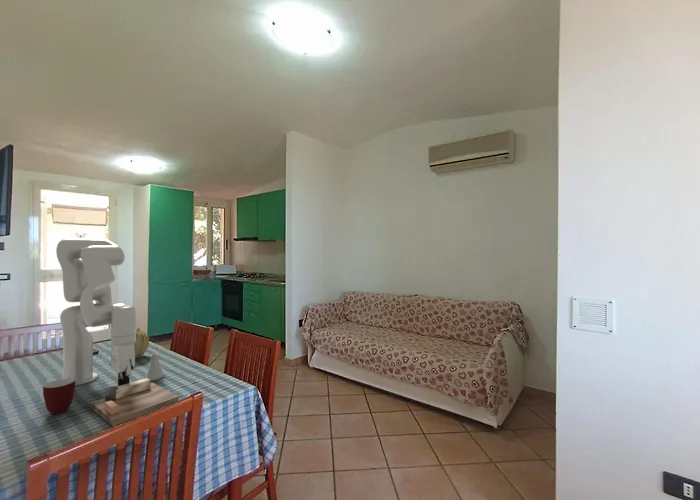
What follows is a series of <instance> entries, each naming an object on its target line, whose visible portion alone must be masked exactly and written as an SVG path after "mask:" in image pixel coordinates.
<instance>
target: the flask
mask: <svg viewBox="0 0 700 500" xmlns="http://www.w3.org/2000/svg"><path fill="white" fill-rule="evenodd" d="M159 356H160V354H159V353H153V354H150V355H149V357H150V362H149V366H148V369H147V371H146V374H145V376H144V378H143V379H145V378H148V379H150V380H151V381H157V380H160V379H163V378H164V377H165V373H164V371H163V368H162V366H161V364H160V361H159V360H160V359H159Z"/></svg>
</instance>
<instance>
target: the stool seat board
mask: <svg viewBox="0 0 700 500" xmlns="http://www.w3.org/2000/svg"><path fill="white" fill-rule="evenodd" d="M179 400H180V399H179V396H178V395H177V394H175V393H174V392H171V391H169V390H167V389H165V388H163V387H161V386H159V385H158V384H155V383H151V388H150V389H146V390H143V391H140V392H137V393H134V394H131V395H128V396H124V397H121V398H118V399H115V400H113V402H114V403H116V404H117V405H118V413H116V414H113V415H111V414H110V413H108V412H107V411H106V410H105V402H108V401H105V397H104V398H101V399H98V400H95V401H93V402H90V408H91V410H93V411H94V412H95V413H96V414H97V415H99V417H101V418H102V419H103V420H105V421H106V423H108V424H109V425H111V426H112V427H115V426H118V425H120V424H123V423H126V422H128V421H131V420H134V419H136V418H139V417H142V416H145V415H148V414H150V413H153V412H155V411H154V410H156V411H158V410H160V409H159V408H161V407H164V406H166V405H169V404H172V403H174V402H177V401H179ZM179 402H180V401H179ZM177 403H178V402H177ZM174 404H175V403H174ZM172 405H173V404H172ZM169 406H170V405H169ZM166 407H167V406H166ZM164 408H165V407H164ZM157 409H158V410H157ZM161 409H162V408H161ZM152 411H153V412H152Z"/></svg>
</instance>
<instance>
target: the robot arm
mask: <svg viewBox="0 0 700 500" xmlns="http://www.w3.org/2000/svg"><path fill="white" fill-rule="evenodd" d="M55 252H56V258H57V260H58V263H59V265H60V267H61V272H62V285H63V286H62V287H63V288H62V289H63V296H64V300H65V301H66V302H67V303H79V304H78V305H73V306H72V305H71V306H69V307H66V308H65V309H63V310H62V311H61V313H60V315H59V316H60V317H59V319H60V320H59V321H60V324H61V329H62V337H63V338H62V340H63V342H62V343H63V344H62V345H63V347H62V348H63V350H62V351H63V352H62V354H63V356H62V358H63V361H62V363H63V365H62V367H63V370H62V373H63V376H62V377H63V378H62V379H68V378H72V379H75V387H76V386H80V385H84V384H87V383H90V382H93V381H95V380H96V379H97V378H98V373H96V372H94V354H93V353H94V337H93V335H92V333H91V332H90V331H88V329H87V328H89V327H91V328H97V327H103V326H108V325H110V342H111V343H110V345H111V351H110V354H111V355H110V369H111V370H113V371H114V372H117V386H121V385H124V384H128V383H131V382H130V380H131V379H130V377H131V375H132V371H133V370H135V368H136V358H135V350H134V343H135V342H136V330H137V329H136V328H137V324H136V317H137V314H136V312H137V310H136V307H135V306H134V305H127V304H125V303H122V302H121V303H120V302H119V303H118V302H117V303H112V302H113V299H112V287H111V285H112V284H113V283H114V282H115V280H116V277H115V274H114V270H113V268H112V266H115V267H116V266H120V265H122V264H123V263H124V262H125V258H126V257H125V252H124V250H123V248H122V247H120V246H119V245H117V243H114V242H112V241H110V240H108V239H105V238H89V237H88V238H86V237H82V238H81V237H71V238H65V239H61V240H60V241H59V242H58V243H57V245H56V251H55Z"/></svg>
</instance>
